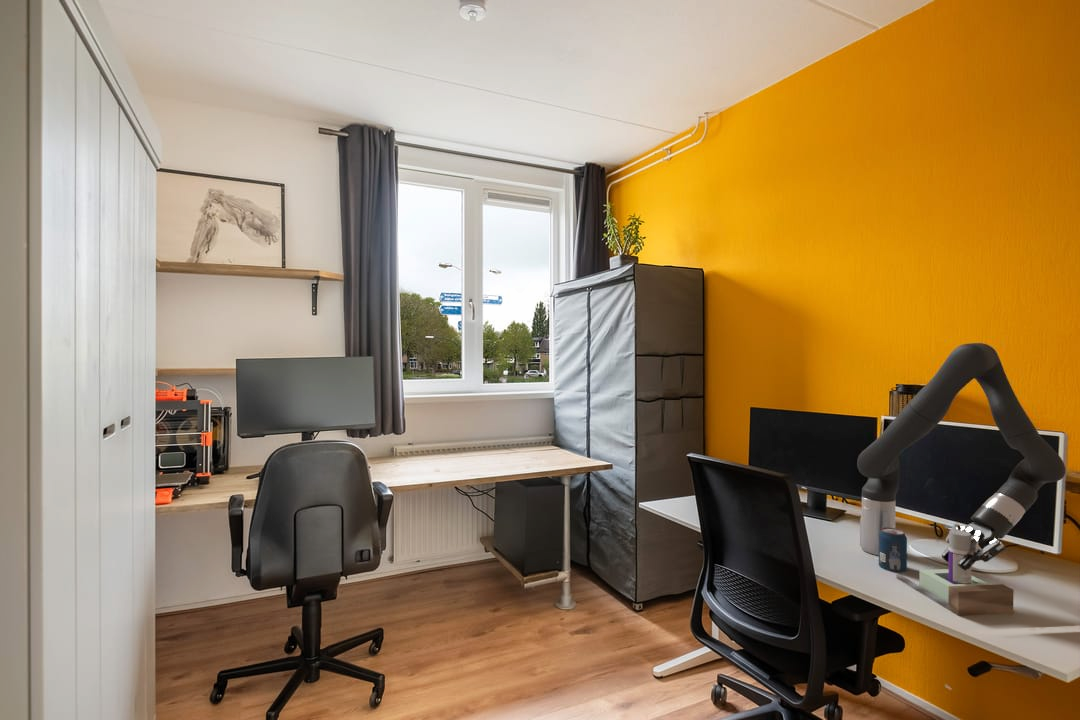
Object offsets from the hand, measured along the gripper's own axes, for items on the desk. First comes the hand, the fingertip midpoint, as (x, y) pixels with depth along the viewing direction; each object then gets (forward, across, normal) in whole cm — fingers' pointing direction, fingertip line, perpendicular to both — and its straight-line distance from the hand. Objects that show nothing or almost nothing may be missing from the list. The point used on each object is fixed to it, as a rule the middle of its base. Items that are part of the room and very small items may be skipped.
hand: (953, 563), depth 141 cm
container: (+4, 0, +6) cm, 8 cm away
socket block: (+6, -1, +8) cm, 10 cm away
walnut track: (+6, -2, +9) cm, 11 cm away
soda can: (+9, -20, +7) cm, 23 cm away
